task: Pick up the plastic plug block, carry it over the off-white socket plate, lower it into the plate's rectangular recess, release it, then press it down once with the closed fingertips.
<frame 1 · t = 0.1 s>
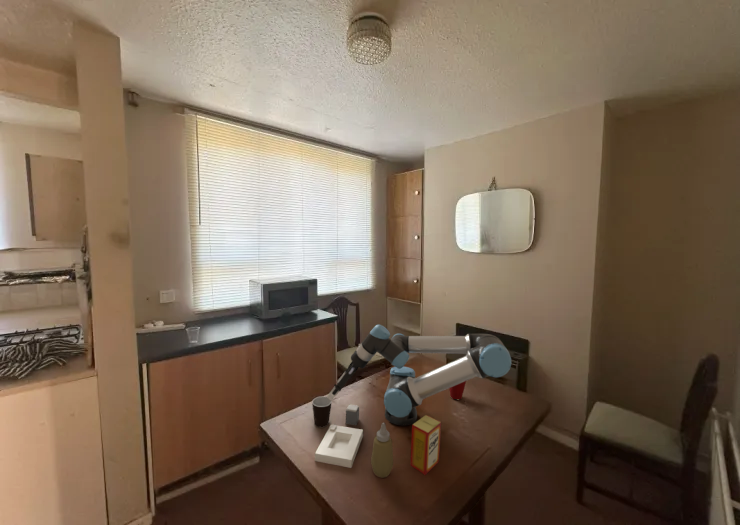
hand: (334, 390, 134), 15 cm above the table, tool tilted 35°, fingers open, 13 cm apart
coffee mug: (322, 421, 137), on the table
socket plate: (340, 448, 120), on the table
baking soda box: (424, 463, 113), on the table
plastic cup: (456, 397, 162), on the table
squeeze bottle: (381, 472, 108), on the table
plug: (352, 421, 137), on the table
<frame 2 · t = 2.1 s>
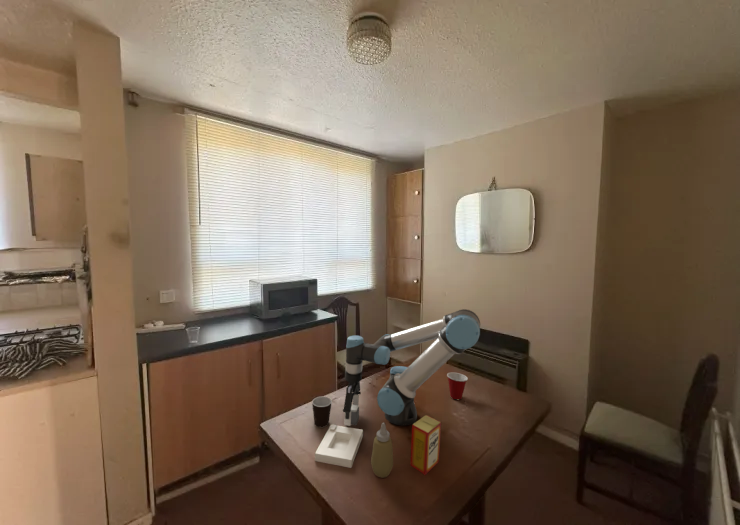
hand: (351, 416, 137), 2 cm above the table, tool pointing down, fingers open, 13 cm apart
nothing on the table moved.
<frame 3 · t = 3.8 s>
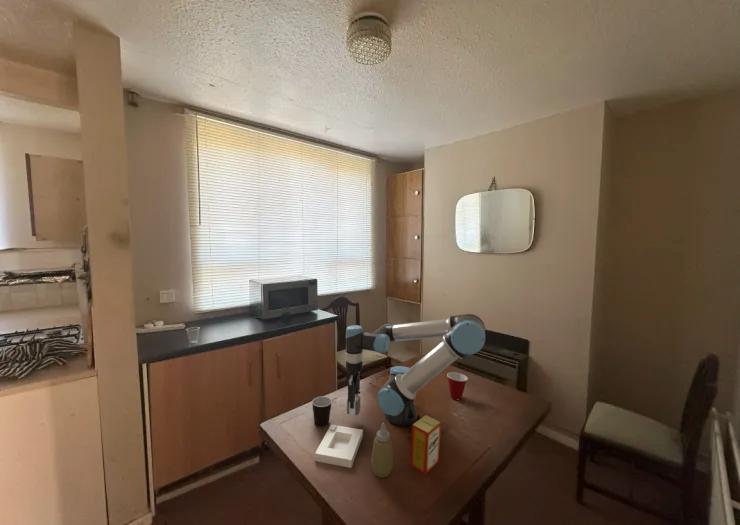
hand: (353, 411, 136), 5 cm above the table, tool pointing down, fingers closed on plug, 4 cm apart
plug: (353, 412, 137), point 5 cm above the table, touching gripper
everything else where it was.
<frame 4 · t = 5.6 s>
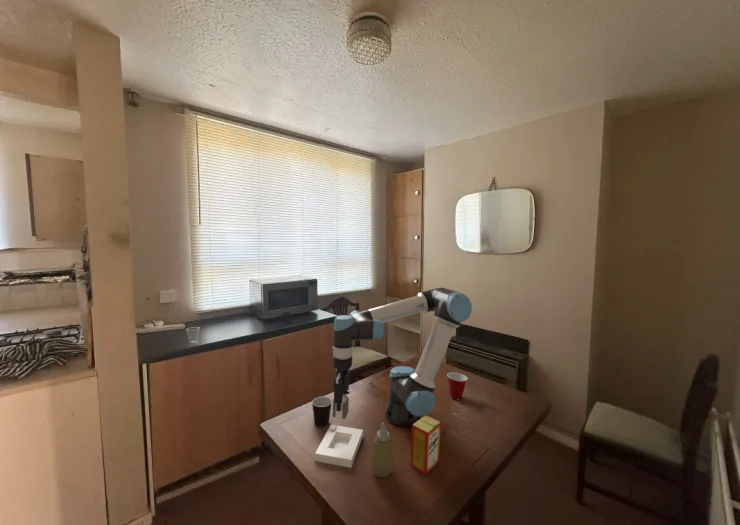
hand: (341, 413, 118), 14 cm above the table, tool pointing down, fingers closed on plug, 4 cm apart
plug: (340, 414, 119), point 14 cm above the table, touching gripper
everything else where it was.
when the fingers open (3 cm above the table, at t = 7.7 s): plug drops 2 cm, resting on socket plate.
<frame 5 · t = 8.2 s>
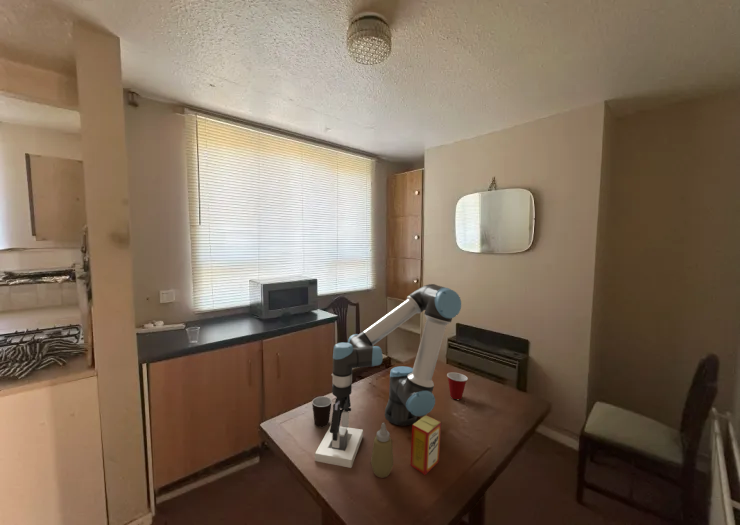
hand: (340, 436, 119), 5 cm above the table, tool pointing down, fingers open, 12 cm apart
plug: (339, 447, 120), resting on socket plate
everything else where it was.
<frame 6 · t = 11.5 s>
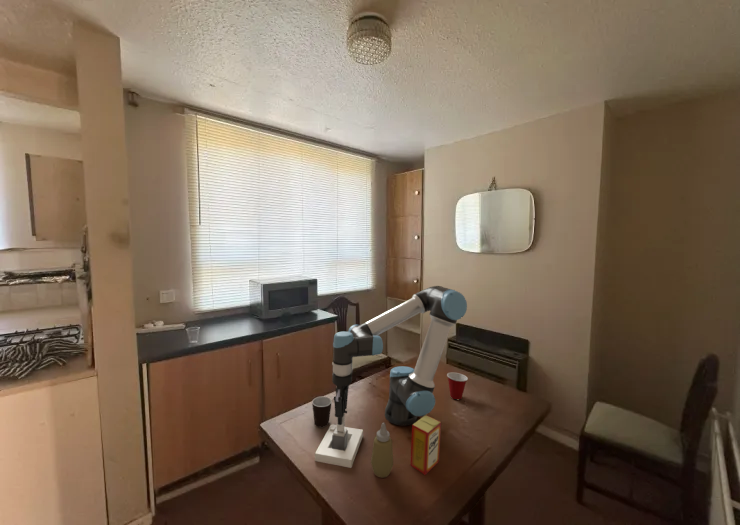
hand: (340, 430, 119), 7 cm above the table, tool pointing down, fingers closed
plug: (339, 447, 120), resting on socket plate, touching gripper
everything else where it was.
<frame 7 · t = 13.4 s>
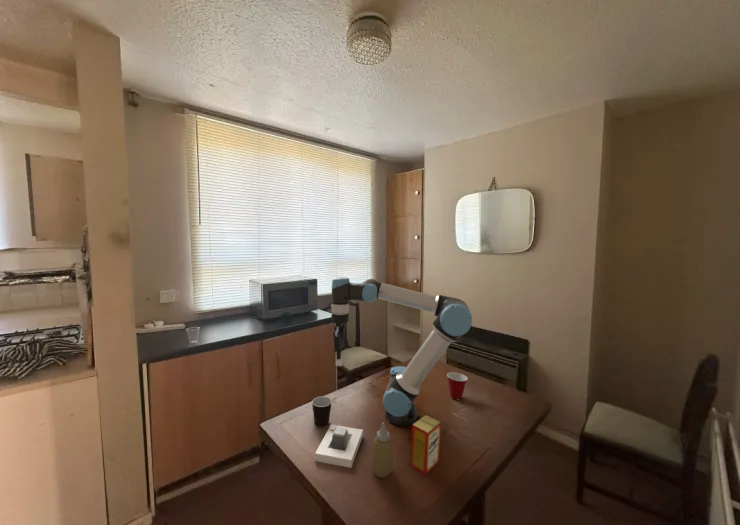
hand: (339, 365, 134), 27 cm above the table, tool pointing down, fingers closed
plug: (339, 447, 120), resting on socket plate
everything else where it was.
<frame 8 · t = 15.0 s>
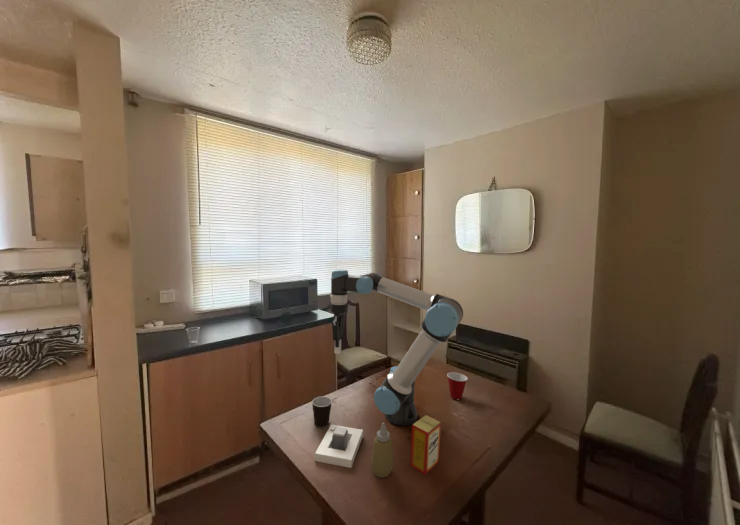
hand: (337, 353, 141), 29 cm above the table, tool pointing down, fingers closed
nothing on the table moved.
at the end: plug 0.2 cm off-centre on the socket plate, point 0.3 cm above the socket plate's base; plug tilted 0°; the gripper is holding nothing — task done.
